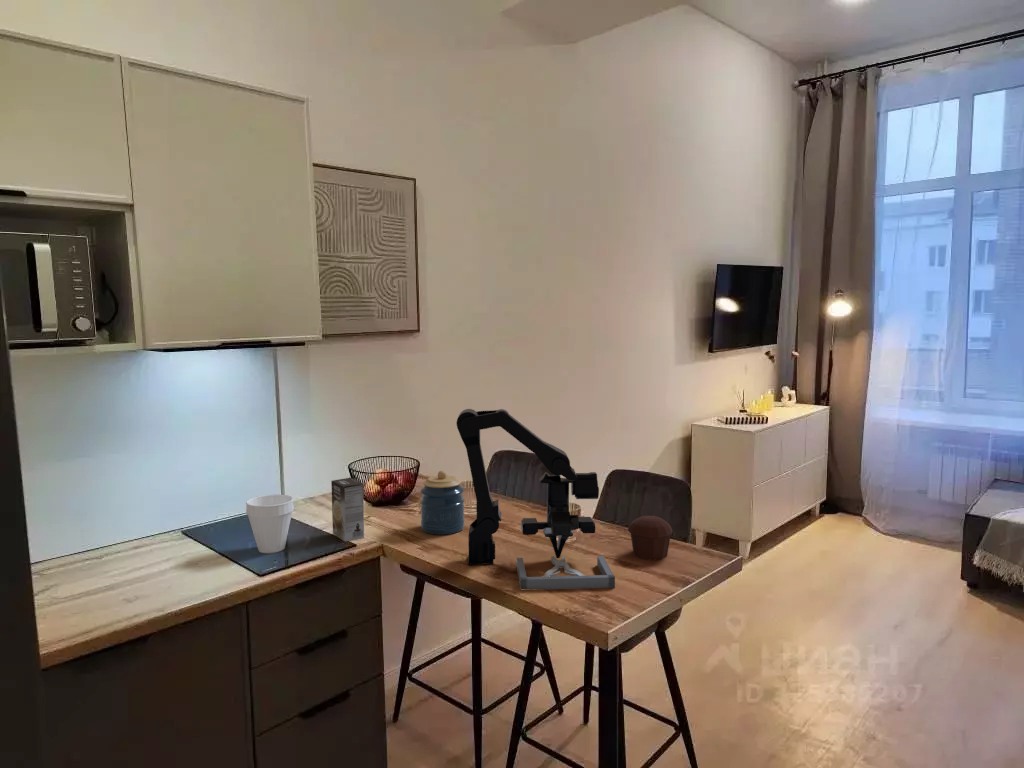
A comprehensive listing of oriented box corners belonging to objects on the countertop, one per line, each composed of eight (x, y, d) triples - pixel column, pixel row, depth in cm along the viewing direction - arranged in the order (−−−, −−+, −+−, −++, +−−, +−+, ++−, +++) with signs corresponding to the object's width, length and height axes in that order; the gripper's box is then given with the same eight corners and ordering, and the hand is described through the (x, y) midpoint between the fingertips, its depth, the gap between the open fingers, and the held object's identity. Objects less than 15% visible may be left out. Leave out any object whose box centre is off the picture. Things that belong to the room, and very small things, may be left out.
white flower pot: (291, 539, 196) (290, 492, 194) (298, 552, 185) (296, 502, 183) (245, 545, 190) (243, 497, 189) (249, 559, 179) (247, 508, 178)
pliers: (545, 578, 162) (538, 556, 177) (545, 584, 162) (538, 562, 177) (586, 577, 163) (576, 555, 178) (586, 583, 163) (576, 561, 178)
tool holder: (520, 590, 158) (520, 579, 158) (516, 567, 173) (516, 557, 173) (614, 587, 160) (614, 577, 160) (603, 565, 174) (603, 555, 174)
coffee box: (331, 534, 200) (330, 480, 199) (352, 529, 204) (350, 477, 203) (344, 542, 193) (343, 486, 191) (365, 537, 197) (364, 482, 195)
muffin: (668, 547, 188) (668, 511, 187) (676, 561, 177) (677, 523, 176) (624, 547, 188) (624, 511, 187) (630, 561, 177) (630, 523, 176)
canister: (416, 534, 199) (415, 475, 198) (426, 521, 212) (425, 465, 211) (460, 536, 198) (459, 476, 196) (468, 522, 211) (467, 466, 209)
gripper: (524, 508, 168) (524, 570, 170) (599, 507, 169) (599, 568, 171) (520, 496, 179) (521, 554, 181) (591, 495, 180) (591, 552, 182)
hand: (557, 557), depth 178 cm, fingers closed
